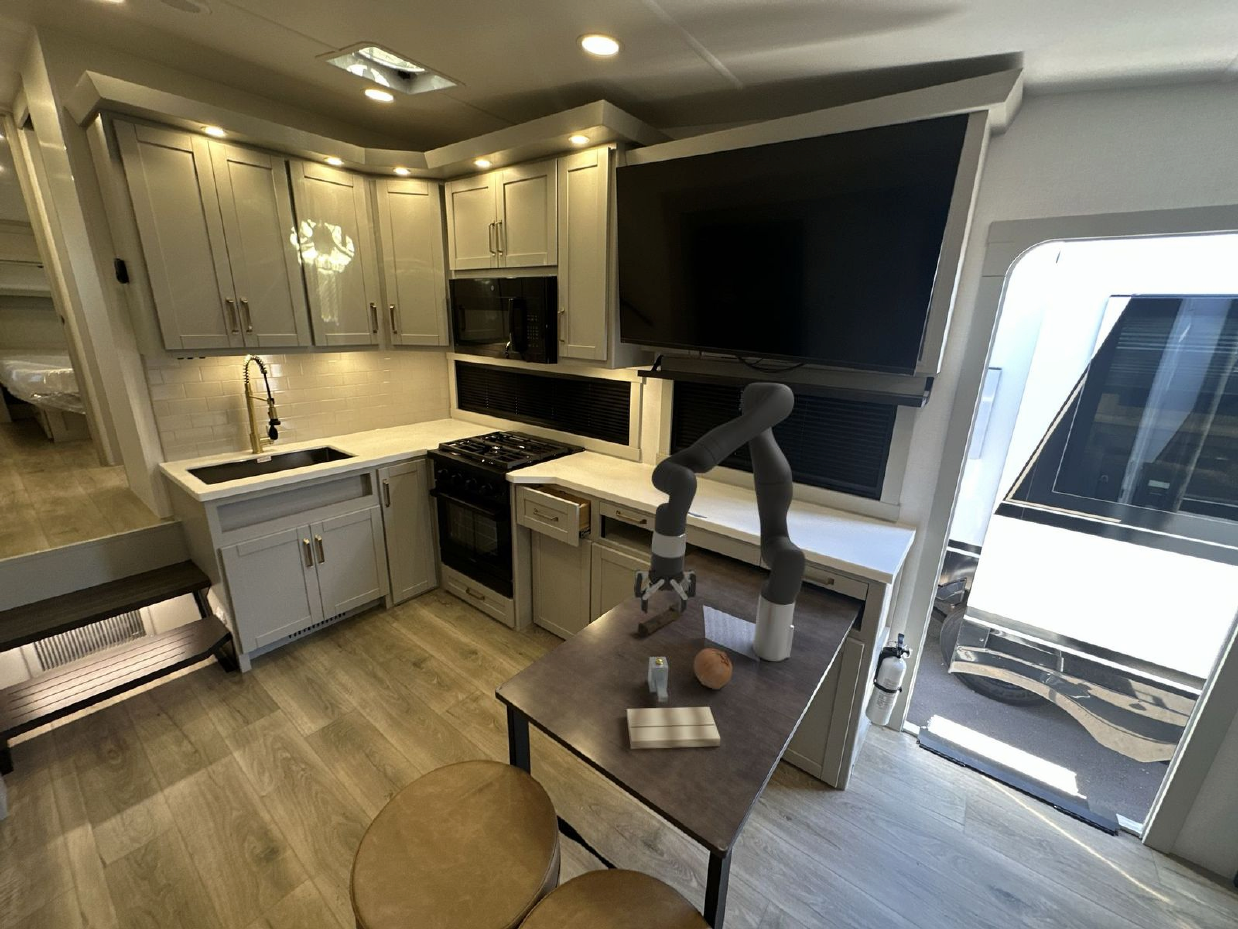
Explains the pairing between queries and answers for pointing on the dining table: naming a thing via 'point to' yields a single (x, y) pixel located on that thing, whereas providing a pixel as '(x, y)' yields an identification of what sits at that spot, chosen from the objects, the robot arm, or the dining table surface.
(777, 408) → the robot arm
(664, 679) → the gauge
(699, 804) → the dining table surface
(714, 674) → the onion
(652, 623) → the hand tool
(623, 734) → the dining table surface
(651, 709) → the board
